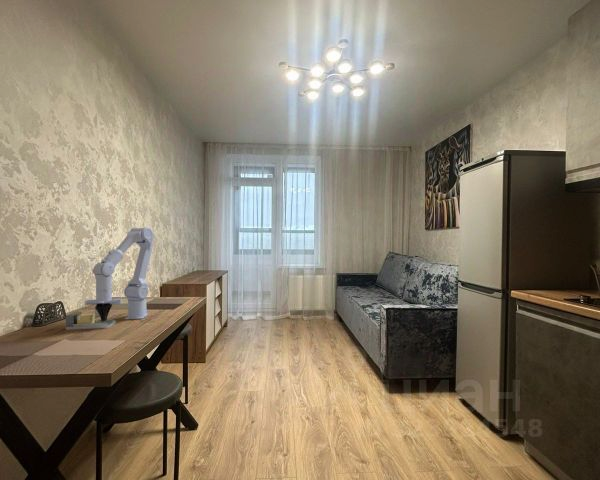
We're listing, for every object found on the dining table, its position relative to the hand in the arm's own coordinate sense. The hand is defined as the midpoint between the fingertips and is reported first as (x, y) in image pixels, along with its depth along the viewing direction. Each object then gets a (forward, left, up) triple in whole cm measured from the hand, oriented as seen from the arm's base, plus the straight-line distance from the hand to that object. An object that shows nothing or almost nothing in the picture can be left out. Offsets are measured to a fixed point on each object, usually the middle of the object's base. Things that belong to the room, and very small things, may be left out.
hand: (104, 320), depth 140 cm
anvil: (0, -12, -2) cm, 13 cm away
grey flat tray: (-1, -6, -2) cm, 6 cm away
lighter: (-21, -10, -3) cm, 23 cm away
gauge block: (0, -7, -1) cm, 7 cm away
